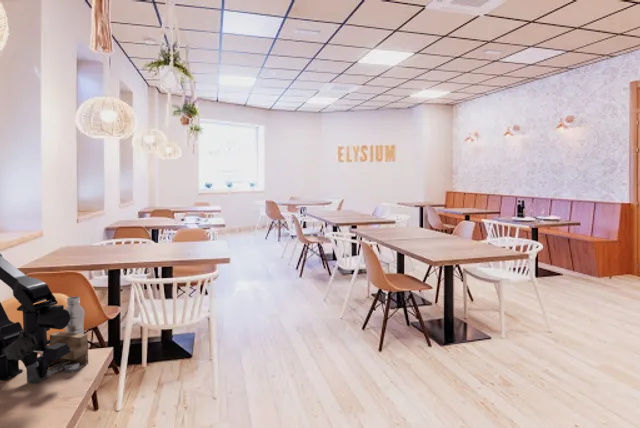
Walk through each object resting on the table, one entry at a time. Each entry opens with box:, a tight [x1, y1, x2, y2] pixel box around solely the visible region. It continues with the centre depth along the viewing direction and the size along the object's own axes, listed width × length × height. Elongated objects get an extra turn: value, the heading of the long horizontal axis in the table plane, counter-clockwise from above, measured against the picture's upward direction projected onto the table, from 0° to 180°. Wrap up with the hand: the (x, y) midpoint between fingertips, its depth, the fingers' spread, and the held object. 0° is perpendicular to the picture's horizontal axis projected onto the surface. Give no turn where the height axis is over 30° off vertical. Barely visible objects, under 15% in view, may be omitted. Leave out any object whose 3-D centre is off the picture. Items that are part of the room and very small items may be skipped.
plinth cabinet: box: [47, 331, 89, 366], centre depth 139 cm, size 12×6×10 cm, turn 78°
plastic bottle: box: [64, 296, 86, 334], centre depth 146 cm, size 6×7×20 cm
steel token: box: [64, 361, 80, 374], centre depth 136 cm, size 4×4×2 cm
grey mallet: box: [25, 361, 68, 385], centre depth 133 cm, size 3×12×5 cm, turn 168°
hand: (37, 377), depth 129 cm, fingers closed on grey mallet, 3 cm apart
